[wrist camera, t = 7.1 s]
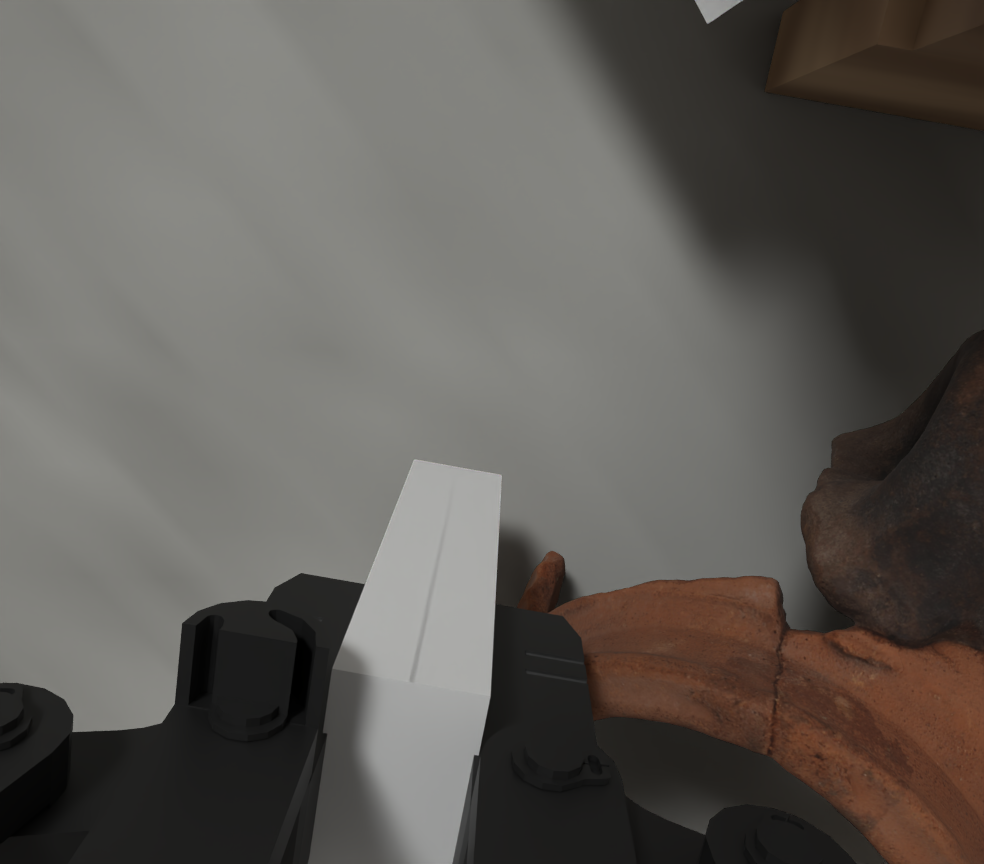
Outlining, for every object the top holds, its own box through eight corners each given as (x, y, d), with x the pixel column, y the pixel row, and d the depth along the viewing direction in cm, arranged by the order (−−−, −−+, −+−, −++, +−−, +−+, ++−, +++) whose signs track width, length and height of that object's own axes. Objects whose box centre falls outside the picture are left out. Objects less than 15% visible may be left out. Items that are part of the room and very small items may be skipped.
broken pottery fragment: (979, 854, 18) (931, 1305, 12) (581, 641, 22) (378, 897, 15) (1356, 334, 12) (1674, 678, 6) (720, 158, 16) (481, 248, 9)
